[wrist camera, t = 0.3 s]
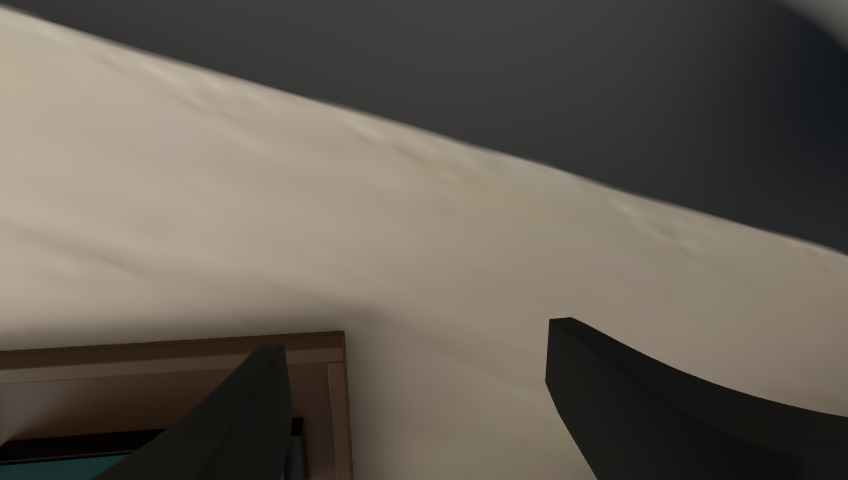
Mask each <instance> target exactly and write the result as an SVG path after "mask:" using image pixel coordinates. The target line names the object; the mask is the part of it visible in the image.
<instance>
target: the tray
mask: <svg viewBox="0 0 848 480" xmlns="http://www.w3.org/2000/svg"><path fill="white" fill-rule="evenodd" d="M277 343H284V348H285V354H286V361H287V368H288V375H289V381H290V388H291V395H292V402H293V416H292V418H300V417H303V419H304V427H305V437H306V447H307V457H308V467H309V477H310V480H353V466H352V450H351V433H350V417H349V400H348V384H347V367H346V351H345V334H344V331H333V332H316V333H300V334H283V335H267V336H250V337H233V338H217V339H200V340H183V341H167V342H150V343H134V344H117V345H100V346H84V347H67V348H50V349H34V350H17V351H1V352H0V447H1V445H2V444H3V443H4V442H6V441H15V440H27V439H40V438H52V437H65V436H77V435H89V434H102V433H114V432H127V431H139V430H151V429H164V428H169V427H171V426H172V425H173V424H174V423H176V422H177V421H178V420H180V419H181V418H182V417H183V416H184V415H186V414H187V413H188V412H189V411H190V410H192V409H193V408H194V407H195V406H196V405H197V404H198V403H200V402H201V401H202V400H203V399H204V398H205V397H206V396H208V395H209V394H210V393H211V392H212V391H213V390H214V389H215V388H217V387H218V386H219V385H220V384H221V383H222V382H223V381H224V380H225V379H226V378H227V377H228V376H229V375H230V374H231V373H232V372H233V371H234V370H235V369H236V368H237V367H238V366H239V365H240V364H241V363H242V362H243V361H244V360H245V359H246V358H247V357H248V356H249V355H250V354H251V353H252V352H253V351H254V350H255V349H256V348H257V347H258V346H259V345H266V344H277Z"/></svg>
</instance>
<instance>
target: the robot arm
mask: <svg viewBox="0 0 848 480" xmlns="http://www.w3.org/2000/svg"><path fill="white" fill-rule="evenodd" d="M545 382H546V385H547V387H548V390H549V392H550V395H551V397H552V400H553V402H554V404H555V406H556V409H557V411H558V413H559V415H560V417H561V419H562V420H563V422H564V424H565V425H566V427H567V429H568V431H569V432H570V434H571V436H572V437H573V439H574V441H575V442H576V444H577V446H578V447H579V449H580V451H581V453H582V454H583V456H584V458H585V459H586V461H587V463H588V464H589V466H590V468H591V469H592V471H593V473H594V474H595V476H596V478H597V479H598V480H848V417H844V416H838V415H832V414H827V413H821V412H816V411H812V410H807V409H803V408H799V407H794V406H790V405H786V404H781V403H778V402H774V401H770V400H766V399H762V398H759V397H755V396H752V395H749V394H745V393H742V392H739V391H736V390H732V389H729V388H726V387H723V386H720V385H717V384H714V383H711V382H709V381H706V380H703V379H701V378H698V377H695V376H693V375H690V374H688V373H685V372H682V371H680V370H678V369H675V368H673V367H671V366H668V365H666V364H664V363H662V362H660V361H658V360H655V359H653V358H651V357H649V356H647V355H645V354H643V353H641V352H639V351H637V350H635V349H633V348H631V347H629V346H627V345H625V344H623V343H621V342H619V341H617V340H615V339H613V338H611V337H610V336H608V335H606V334H604V333H602V332H600V331H598V330H596V329H594V328H593V327H591V326H589V325H587V324H585V323H583V322H581V321H578V320H576V319H574V318H571V317H567V318H556V319H549V334H548V348H547V363H546V378H545ZM292 416H293V402H292V395H291V388H290V381H289V375H288V368H287V361H286V354H285V348H284V343H277V344H266V345H259V346H258V347H257V348H256V349H255V350H254V351H253V352H252V353H251V354H250V355H249V356H248V357H247V358H246V359H245V360H244V361H243V362H242V363H241V364H240V365H239V366H238V367H237V368H236V369H235V370H234V371H233V372H232V373H231V374H230V375H229V376H228V377H227V378H226V379H225V380H224V381H223V382H222V383H221V384H220V385H219V386H218V387H217V388H215V389H214V390H213V391H212V392H211V393H210V394H209V395H208V396H206V397H205V398H204V399H203V400H202V401H201V402H200V403H198V404H197V405H196V406H195V407H194V408H193V409H192V410H190V411H189V412H188V413H187V414H186V415H184V416H183V417H182V418H181V419H180V420H178V421H177V422H176V423H174V424H173V425H172V426H171V427H169V428H168V429H166V430H165V431H164V432H162V433H161V434H160V435H158V436H157V437H155V438H154V439H153V440H151V441H150V442H148V443H147V444H145V445H144V446H143V447H141V448H139V449H138V450H136V451H135V452H133V453H131V454H130V455H128V456H127V457H125V458H124V459H122V460H120V461H119V462H117V463H116V464H114V465H112V466H111V467H109V468H108V469H106V470H104V471H103V472H101V473H99V474H98V475H96V476H94V477H92V478H90V479H89V480H280V479H281V475H282V471H283V467H284V463H285V459H286V455H287V451H288V446H289V441H290V433H291V425H292Z"/></svg>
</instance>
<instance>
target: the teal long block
mask: <svg viewBox="0 0 848 480" xmlns="http://www.w3.org/2000/svg"><path fill="white" fill-rule="evenodd" d="M166 429H168V428H164V429H151V430H139V431H127V432H114V433H102V434H89V435H77V436H65V437H52V438H40V439H27V440H15V441H6V442H4V443H3V444H2V445H1V447H0V480H89V479H90V478H92V477H94V476H96V475H98V474H99V473H101V472H103V471H104V470H106V469H108V468H109V467H111V466H112V465H114V464H116V463H117V462H119V461H120V460H122V459H124V458H125V457H127V456H128V455H130V454H131V453H133V452H135V451H136V450H138V449H139V448H141V447H143V446H144V445H145V444H147V443H148V442H150V441H151V440H153V439H154V438H155V437H157V436H158V435H160V434H161V433H162V432H164V431H165V430H166ZM280 480H310V477H309V467H308V457H307V447H306V437H305V427H304V419H303V417H300V418H292V425H291V433H290V441H289V446H288V451H287V455H286V459H285V463H284V467H283V471H282V475H281V479H280Z"/></svg>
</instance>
